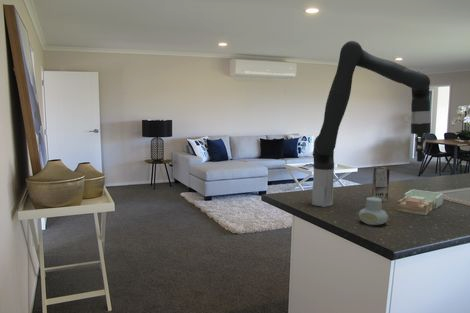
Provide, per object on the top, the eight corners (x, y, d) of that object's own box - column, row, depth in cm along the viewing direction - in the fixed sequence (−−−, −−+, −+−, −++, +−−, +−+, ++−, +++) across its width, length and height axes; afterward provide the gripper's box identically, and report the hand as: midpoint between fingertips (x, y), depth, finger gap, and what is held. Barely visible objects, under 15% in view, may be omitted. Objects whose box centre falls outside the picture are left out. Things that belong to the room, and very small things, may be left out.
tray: (436, 208, 172) (437, 198, 171) (403, 203, 180) (404, 193, 180) (442, 203, 181) (443, 193, 181) (411, 199, 190) (412, 189, 190)
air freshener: (390, 223, 149) (391, 199, 148) (382, 228, 143) (384, 203, 142) (363, 218, 156) (364, 194, 155) (355, 222, 150) (356, 198, 149)
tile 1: (417, 206, 164) (418, 202, 163) (405, 204, 167) (405, 200, 167) (420, 204, 168) (421, 200, 167) (409, 202, 171) (409, 198, 170)
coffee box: (388, 201, 184) (390, 169, 182) (374, 201, 185) (376, 168, 183) (384, 197, 193) (386, 166, 191) (371, 197, 194) (373, 166, 192)
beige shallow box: (425, 215, 161) (426, 206, 161) (396, 210, 169) (396, 201, 168) (433, 208, 172) (434, 200, 171) (405, 204, 179) (406, 196, 179)
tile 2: (421, 203, 169) (422, 199, 168) (409, 201, 172) (410, 197, 172) (424, 201, 172) (425, 197, 172) (413, 200, 176) (413, 195, 175)
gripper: (412, 122, 168) (412, 158, 169) (409, 123, 156) (409, 162, 157) (431, 121, 164) (431, 158, 166) (429, 122, 152) (429, 162, 153)
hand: (420, 160), depth 161 cm, fingers open, 8 cm apart
